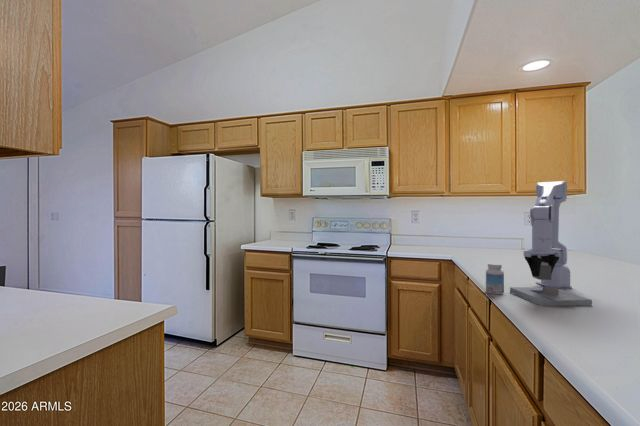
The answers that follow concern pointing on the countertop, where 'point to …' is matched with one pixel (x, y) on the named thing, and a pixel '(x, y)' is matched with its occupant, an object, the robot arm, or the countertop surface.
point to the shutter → (555, 294)
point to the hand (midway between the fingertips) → (541, 275)
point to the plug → (544, 272)
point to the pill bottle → (494, 279)
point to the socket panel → (536, 297)
